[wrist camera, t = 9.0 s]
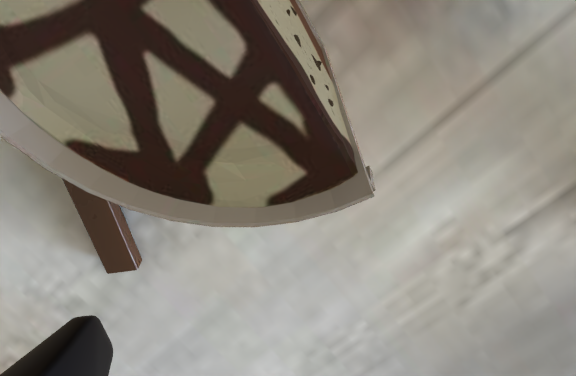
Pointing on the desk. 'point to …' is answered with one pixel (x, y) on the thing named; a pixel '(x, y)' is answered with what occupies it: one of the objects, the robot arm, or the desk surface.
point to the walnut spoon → (106, 230)
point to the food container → (182, 107)
